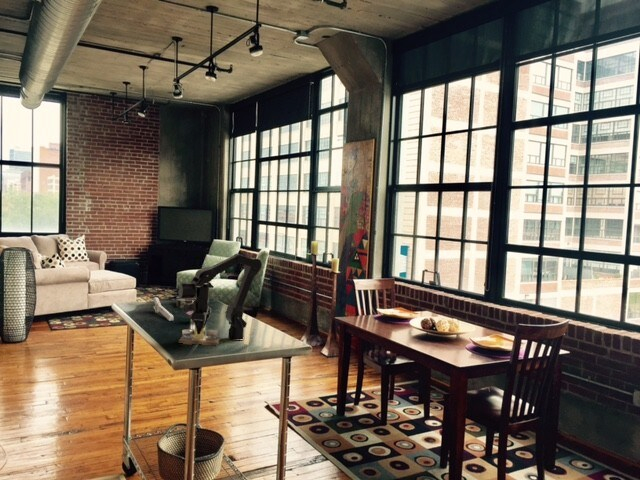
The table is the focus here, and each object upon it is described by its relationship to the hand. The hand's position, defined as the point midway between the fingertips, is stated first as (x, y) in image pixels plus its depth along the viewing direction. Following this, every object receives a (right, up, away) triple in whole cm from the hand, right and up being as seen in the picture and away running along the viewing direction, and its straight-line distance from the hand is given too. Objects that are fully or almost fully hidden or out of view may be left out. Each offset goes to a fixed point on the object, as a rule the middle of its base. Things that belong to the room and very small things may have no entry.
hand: (200, 331), depth 244 cm
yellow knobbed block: (0, -3, 0) cm, 3 cm away
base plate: (0, -5, 0) cm, 5 cm away
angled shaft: (-5, -3, -1) cm, 6 cm away
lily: (-12, -2, +39) cm, 41 cm away
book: (-25, 0, +84) cm, 87 cm away
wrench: (-32, 0, +52) cm, 61 cm away
